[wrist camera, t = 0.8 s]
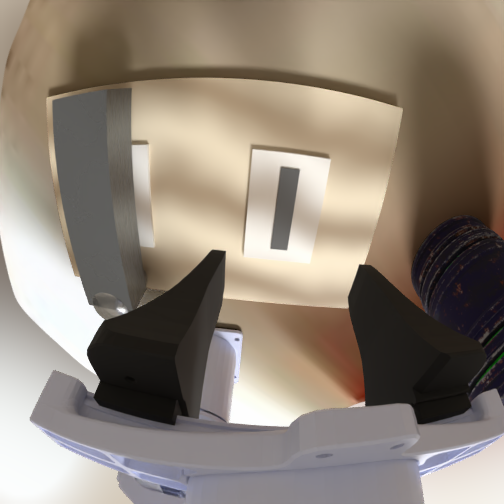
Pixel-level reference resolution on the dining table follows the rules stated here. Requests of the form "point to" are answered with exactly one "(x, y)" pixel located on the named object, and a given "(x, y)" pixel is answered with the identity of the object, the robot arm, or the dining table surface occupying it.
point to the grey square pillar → (100, 196)
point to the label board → (254, 183)
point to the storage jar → (466, 290)
